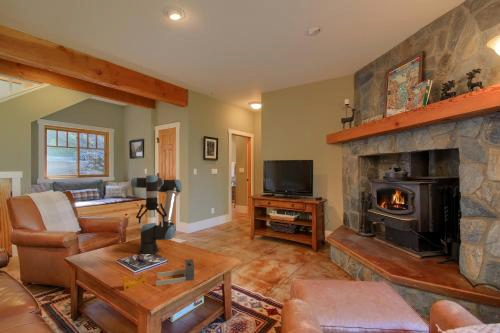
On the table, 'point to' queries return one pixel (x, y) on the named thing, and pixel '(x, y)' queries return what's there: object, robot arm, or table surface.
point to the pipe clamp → (134, 282)
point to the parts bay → (170, 281)
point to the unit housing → (189, 269)
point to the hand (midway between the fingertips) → (151, 227)
